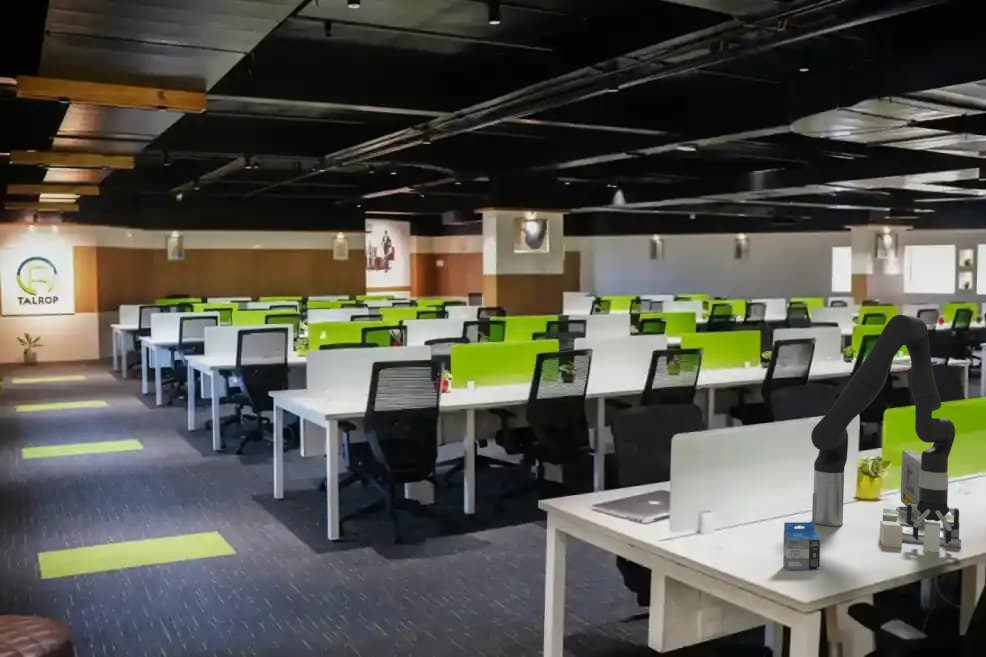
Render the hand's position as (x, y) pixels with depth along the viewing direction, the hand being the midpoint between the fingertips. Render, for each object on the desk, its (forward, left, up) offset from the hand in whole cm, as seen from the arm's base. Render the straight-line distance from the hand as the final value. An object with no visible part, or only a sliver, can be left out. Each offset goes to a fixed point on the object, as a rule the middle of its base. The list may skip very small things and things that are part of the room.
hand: (931, 541), depth 265 cm
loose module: (0, 0, -3) cm, 3 cm away
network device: (-4, +42, -3) cm, 42 cm away
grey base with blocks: (-3, +12, -2) cm, 13 cm away
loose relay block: (-11, +1, -3) cm, 11 cm away
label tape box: (-33, -36, -3) cm, 49 cm away
